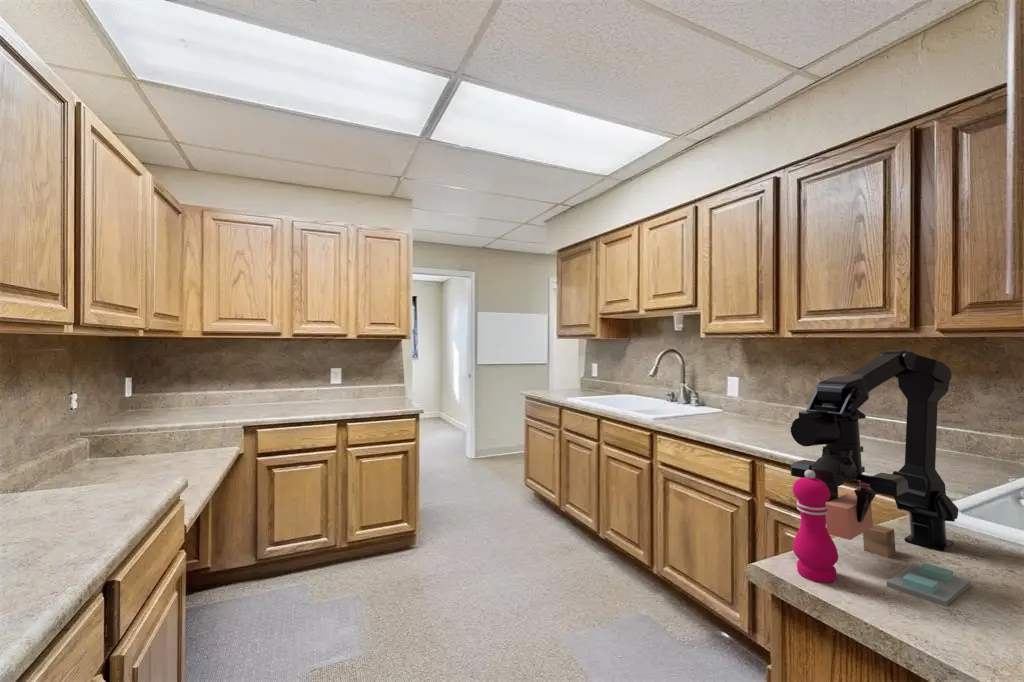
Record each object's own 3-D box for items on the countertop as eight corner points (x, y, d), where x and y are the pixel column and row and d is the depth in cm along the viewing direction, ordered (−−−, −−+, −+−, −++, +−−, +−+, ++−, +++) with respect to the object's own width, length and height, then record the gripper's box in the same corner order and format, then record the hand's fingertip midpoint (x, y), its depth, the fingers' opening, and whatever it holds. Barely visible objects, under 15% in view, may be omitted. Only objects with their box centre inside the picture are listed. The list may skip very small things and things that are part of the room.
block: (872, 546, 96) (871, 523, 96) (895, 552, 93) (894, 528, 93) (864, 551, 94) (862, 527, 94) (887, 558, 91) (885, 533, 91)
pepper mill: (796, 579, 84) (789, 473, 84) (792, 563, 90) (786, 464, 91) (843, 587, 80) (835, 476, 81) (836, 569, 87) (828, 466, 87)
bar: (850, 521, 95) (848, 493, 95) (873, 526, 91) (870, 497, 92) (827, 533, 90) (824, 503, 90) (849, 540, 86) (847, 509, 86)
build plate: (913, 567, 86) (912, 557, 86) (971, 585, 79) (970, 573, 79) (886, 586, 80) (886, 574, 80) (946, 606, 73) (945, 594, 73)
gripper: (774, 440, 95) (778, 514, 94) (880, 455, 79) (886, 544, 78) (801, 433, 101) (806, 503, 100) (906, 446, 84) (912, 529, 84)
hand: (847, 518), depth 90 cm, fingers closed on bar, 4 cm apart
